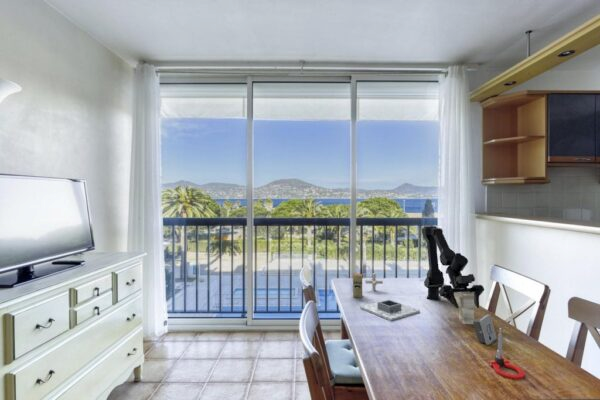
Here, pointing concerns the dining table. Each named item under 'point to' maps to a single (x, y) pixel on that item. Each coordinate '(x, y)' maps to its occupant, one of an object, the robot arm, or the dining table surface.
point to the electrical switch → (485, 329)
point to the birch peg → (466, 307)
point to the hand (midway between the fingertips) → (468, 308)
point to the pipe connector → (373, 282)
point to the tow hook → (504, 362)
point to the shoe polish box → (357, 285)
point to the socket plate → (389, 309)
